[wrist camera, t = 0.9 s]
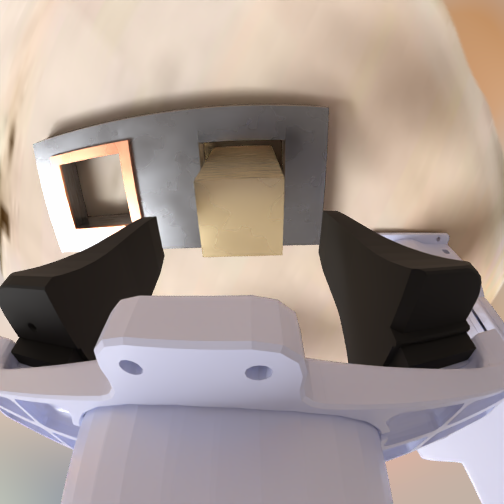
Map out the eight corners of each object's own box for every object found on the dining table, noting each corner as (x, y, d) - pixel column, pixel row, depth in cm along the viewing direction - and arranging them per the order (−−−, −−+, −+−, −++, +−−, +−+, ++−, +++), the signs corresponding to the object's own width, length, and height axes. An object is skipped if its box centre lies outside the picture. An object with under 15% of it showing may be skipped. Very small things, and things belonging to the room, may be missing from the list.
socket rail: (321, 105, 17) (329, 107, 15) (314, 231, 23) (320, 246, 21) (46, 138, 17) (30, 145, 15) (72, 240, 23) (60, 253, 21)
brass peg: (271, 145, 19) (284, 178, 12) (271, 197, 21) (282, 254, 14) (214, 147, 19) (193, 181, 12) (218, 199, 21) (202, 257, 14)
